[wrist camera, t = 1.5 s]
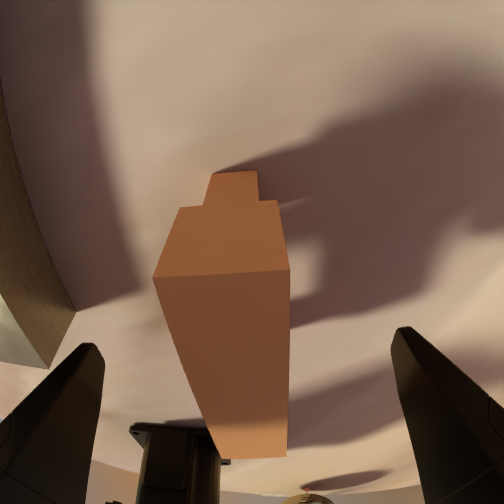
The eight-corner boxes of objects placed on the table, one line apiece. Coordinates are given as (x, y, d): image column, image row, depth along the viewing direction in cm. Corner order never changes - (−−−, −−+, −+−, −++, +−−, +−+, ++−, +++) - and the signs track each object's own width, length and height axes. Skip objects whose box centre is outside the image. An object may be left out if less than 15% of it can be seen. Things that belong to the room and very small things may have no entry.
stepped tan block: (277, 339, 14) (286, 456, 9) (227, 342, 14) (221, 458, 9) (269, 160, 10) (290, 269, 5) (198, 166, 10) (152, 277, 5)
